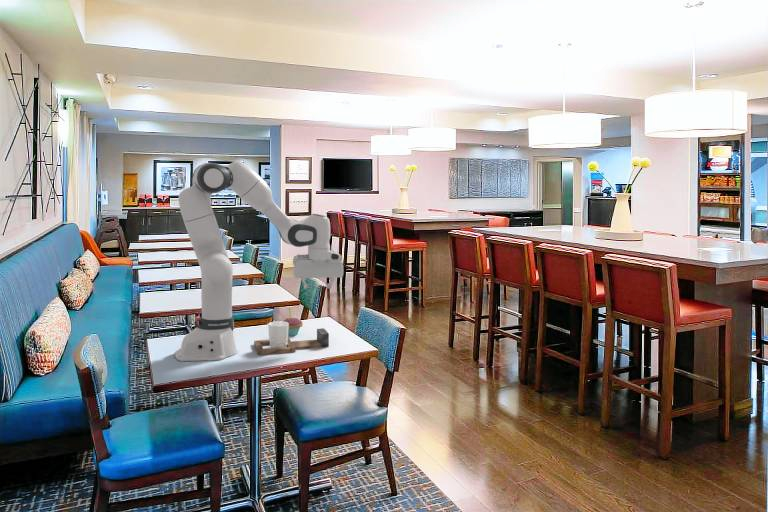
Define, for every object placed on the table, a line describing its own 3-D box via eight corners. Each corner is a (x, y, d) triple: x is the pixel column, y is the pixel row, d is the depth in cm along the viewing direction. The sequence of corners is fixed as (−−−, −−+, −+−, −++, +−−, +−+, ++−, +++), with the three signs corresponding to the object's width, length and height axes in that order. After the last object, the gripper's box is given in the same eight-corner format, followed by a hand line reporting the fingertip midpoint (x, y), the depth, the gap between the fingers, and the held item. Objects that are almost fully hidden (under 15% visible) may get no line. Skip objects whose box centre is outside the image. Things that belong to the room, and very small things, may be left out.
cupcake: (278, 334, 248) (278, 306, 246) (293, 330, 254) (293, 303, 252) (291, 338, 242) (291, 310, 240) (306, 334, 249) (306, 307, 247)
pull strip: (258, 355, 219) (258, 341, 218) (254, 344, 232) (254, 331, 231) (330, 349, 228) (330, 335, 227) (322, 339, 241) (322, 326, 241)
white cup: (285, 351, 224) (285, 326, 222) (265, 350, 225) (265, 325, 223) (291, 345, 232) (291, 321, 230) (272, 344, 232) (271, 320, 231)
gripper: (294, 255, 226) (293, 290, 227) (345, 255, 232) (343, 289, 234) (291, 253, 231) (290, 287, 233) (341, 253, 238) (340, 286, 240)
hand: (317, 288), depth 234 cm, fingers open, 8 cm apart
